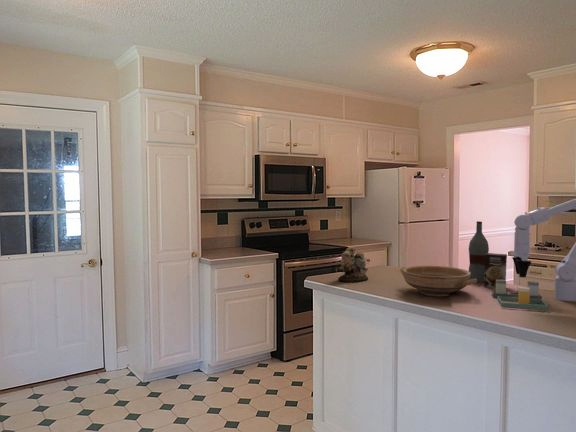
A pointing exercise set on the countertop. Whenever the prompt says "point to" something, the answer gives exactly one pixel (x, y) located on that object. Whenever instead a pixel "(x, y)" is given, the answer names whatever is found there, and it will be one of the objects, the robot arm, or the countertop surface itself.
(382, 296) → the countertop surface
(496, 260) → the coffee box
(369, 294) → the countertop surface
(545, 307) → the parts tray
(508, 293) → the fuse holder
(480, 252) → the bottle
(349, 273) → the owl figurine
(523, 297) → the block
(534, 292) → the grey rectangular block
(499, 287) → the block
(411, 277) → the ceramic bowl
